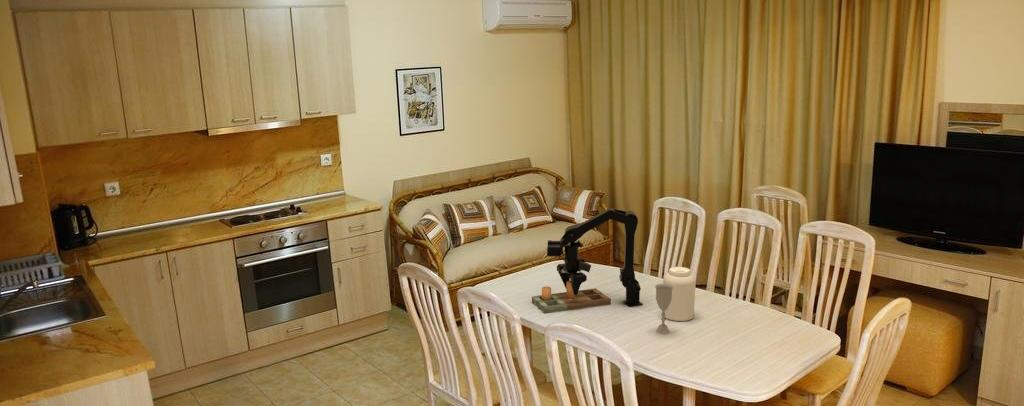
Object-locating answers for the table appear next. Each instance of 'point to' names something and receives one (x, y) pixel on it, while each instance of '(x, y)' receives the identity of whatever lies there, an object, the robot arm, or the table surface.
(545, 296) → the model pin
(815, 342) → the table surface
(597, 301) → the pin board
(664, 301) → the chalice
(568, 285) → the orange pin
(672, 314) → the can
